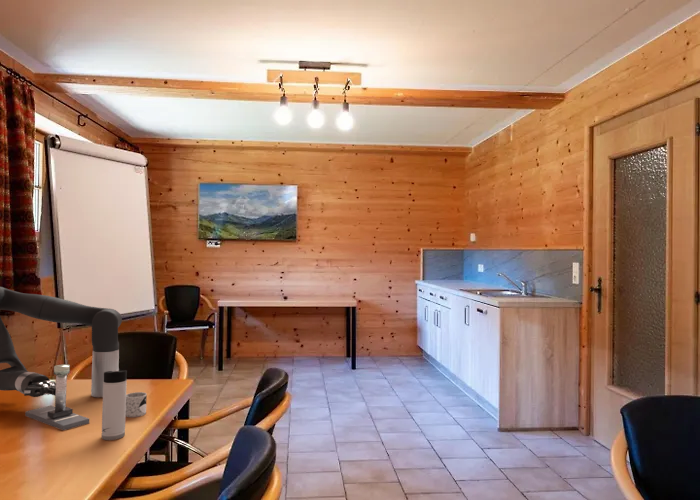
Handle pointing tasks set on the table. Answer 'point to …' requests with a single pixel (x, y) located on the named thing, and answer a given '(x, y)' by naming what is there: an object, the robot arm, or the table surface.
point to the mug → (136, 404)
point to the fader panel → (59, 422)
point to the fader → (60, 392)
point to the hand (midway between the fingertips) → (58, 392)
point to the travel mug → (114, 405)
